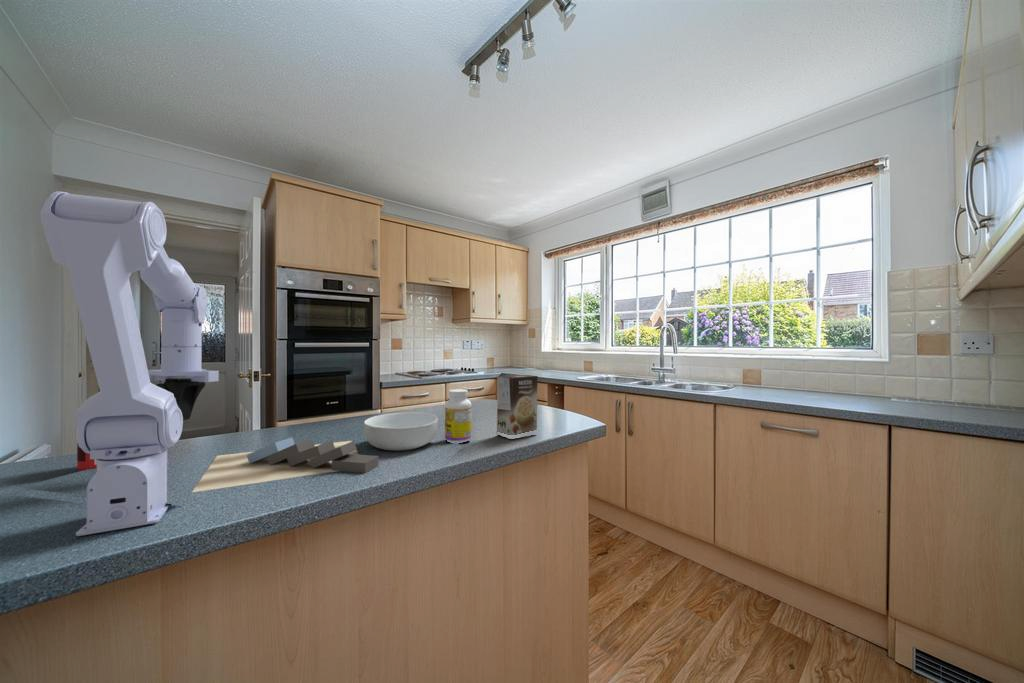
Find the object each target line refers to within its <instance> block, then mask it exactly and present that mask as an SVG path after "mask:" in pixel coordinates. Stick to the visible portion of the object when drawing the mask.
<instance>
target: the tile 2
mask: <svg viewBox="0 0 1024 683" xmlns="http://www.w3.org/2000/svg"><path fill="white" fill-rule="evenodd" d="M294 444H295V445H292V446H290V447H288V448H285V449H283V450H281V451H278V452H276V453H274V454H271V455H269V456H267V459H268V462H269V464H270V465H272V464H275V463H277V462H280V461H282V460H285V459H287V458H288V457H291V456H293V455H296V454H298V453H301V452H303V451H306V450H308V449H310V448H313V447H315V445H316V444H315V443H314V440H313V438H309V439H308V438H307V439H306V440H303V441H300V442H297V443H294Z"/></svg>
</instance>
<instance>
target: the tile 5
mask: <svg viewBox="0 0 1024 683" xmlns="http://www.w3.org/2000/svg"><path fill="white" fill-rule="evenodd" d="M378 466H379V455H367V454H359V455H356V454H346V455H344V456H341V457H339V458H337V459H334V460H332V470H335V471H336V472H347V473H348V472H349V473H350V472H351V473H360V474H361V473H363V474H367V473H368V472H369V471H372V470H373V469H375V468H376V467H378Z"/></svg>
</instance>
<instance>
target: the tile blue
mask: <svg viewBox="0 0 1024 683" xmlns="http://www.w3.org/2000/svg"><path fill="white" fill-rule="evenodd" d="M295 444H296V443H295V440H294V439H293V436H291V437H289V438H288V437H287V438H286V439H283V440H280V441H276V442H274V443H272V444H269V445H266V446H264V447H262V448H260V449H258V450H255V452H254V451H251V452H252V453H250V454H248V455H247V458H248V461H249V464H250V463H253V462H256V461H258V460H261V459H264V458H267V456H269V455H271V454H274V453H276V452H278V451H281V450H283V449H285V448H288V447H290V446H292V445H295Z"/></svg>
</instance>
